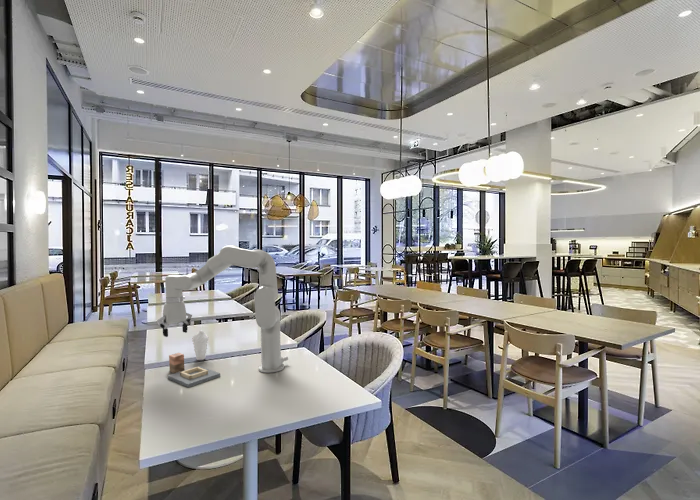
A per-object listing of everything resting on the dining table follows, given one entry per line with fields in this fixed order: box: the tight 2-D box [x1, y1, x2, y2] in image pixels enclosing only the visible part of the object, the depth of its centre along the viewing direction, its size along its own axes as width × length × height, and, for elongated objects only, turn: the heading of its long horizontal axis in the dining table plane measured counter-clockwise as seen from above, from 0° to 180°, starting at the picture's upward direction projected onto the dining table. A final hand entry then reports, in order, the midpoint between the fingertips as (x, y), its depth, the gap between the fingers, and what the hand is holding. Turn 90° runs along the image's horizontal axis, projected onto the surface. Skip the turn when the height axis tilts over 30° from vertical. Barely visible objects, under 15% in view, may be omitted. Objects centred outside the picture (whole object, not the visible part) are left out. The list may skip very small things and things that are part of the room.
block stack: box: [168, 352, 186, 374], centre depth 189 cm, size 5×5×8 cm
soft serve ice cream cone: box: [191, 329, 209, 361], centre depth 206 cm, size 8×8×16 cm
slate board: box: [167, 365, 221, 388], centre depth 179 cm, size 16×18×3 cm
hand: (175, 334), depth 188 cm, fingers open, 9 cm apart
